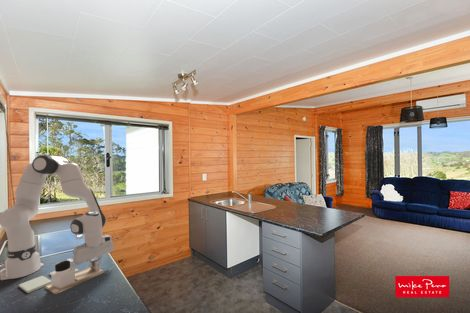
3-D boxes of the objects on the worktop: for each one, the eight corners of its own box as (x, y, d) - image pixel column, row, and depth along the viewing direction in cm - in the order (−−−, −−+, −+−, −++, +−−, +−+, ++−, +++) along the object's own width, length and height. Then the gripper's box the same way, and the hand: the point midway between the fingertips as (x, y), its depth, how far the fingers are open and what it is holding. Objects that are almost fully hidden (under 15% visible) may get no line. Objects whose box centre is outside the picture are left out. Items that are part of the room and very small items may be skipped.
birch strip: (45, 287, 116) (44, 275, 115) (92, 267, 135) (92, 257, 134) (55, 294, 109) (54, 281, 109) (103, 272, 128) (103, 261, 128)
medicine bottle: (75, 283, 119) (74, 260, 118) (60, 291, 112) (59, 266, 112) (66, 280, 121) (65, 258, 121) (51, 288, 115) (50, 264, 115)
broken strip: (19, 286, 118) (18, 274, 118) (69, 267, 137) (68, 256, 137) (27, 293, 111) (27, 280, 111) (79, 272, 130) (78, 261, 130)
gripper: (75, 248, 119) (77, 275, 120) (114, 235, 137) (115, 259, 137) (70, 246, 123) (71, 272, 123) (108, 234, 140) (109, 256, 140)
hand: (95, 265), depth 130 cm, fingers closed
